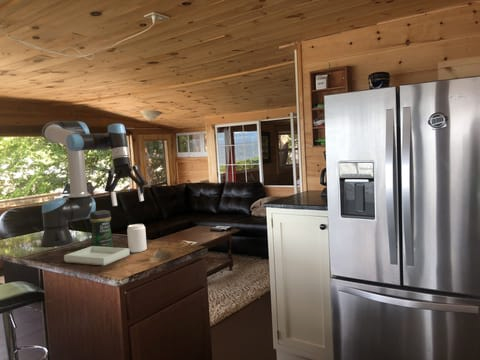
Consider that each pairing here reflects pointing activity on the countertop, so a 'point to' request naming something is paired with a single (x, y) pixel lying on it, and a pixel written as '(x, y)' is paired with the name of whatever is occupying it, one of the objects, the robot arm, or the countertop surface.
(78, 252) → the tray
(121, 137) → the robot arm
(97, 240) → the coffee jar
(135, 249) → the beverage can
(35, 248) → the countertop surface
